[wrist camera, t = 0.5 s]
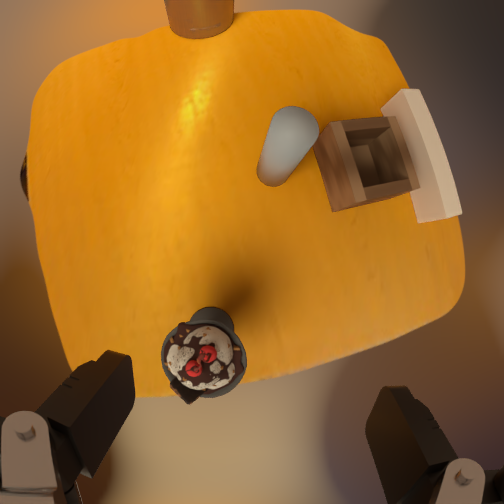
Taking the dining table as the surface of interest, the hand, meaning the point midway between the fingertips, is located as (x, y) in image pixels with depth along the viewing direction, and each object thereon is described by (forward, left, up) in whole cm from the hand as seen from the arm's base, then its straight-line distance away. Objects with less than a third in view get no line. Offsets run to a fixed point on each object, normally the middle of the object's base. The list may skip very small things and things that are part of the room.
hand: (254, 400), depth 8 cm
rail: (-10, +26, -23) cm, 36 cm away
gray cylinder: (-12, +7, -23) cm, 27 cm away
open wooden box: (-10, +17, -23) cm, 31 cm away
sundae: (+3, -4, -24) cm, 24 cm away
